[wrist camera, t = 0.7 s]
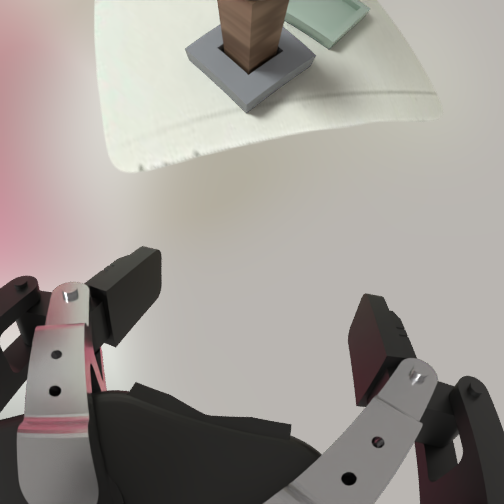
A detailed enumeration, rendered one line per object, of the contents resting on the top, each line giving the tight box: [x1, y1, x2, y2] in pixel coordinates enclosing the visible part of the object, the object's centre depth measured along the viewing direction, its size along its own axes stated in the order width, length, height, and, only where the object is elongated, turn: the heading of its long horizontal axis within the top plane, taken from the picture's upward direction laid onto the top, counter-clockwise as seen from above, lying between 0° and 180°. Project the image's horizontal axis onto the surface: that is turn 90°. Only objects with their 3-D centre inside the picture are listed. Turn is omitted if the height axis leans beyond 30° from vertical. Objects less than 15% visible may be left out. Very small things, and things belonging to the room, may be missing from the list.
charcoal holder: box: [185, 24, 316, 113], centre depth 25 cm, size 10×10×3 cm
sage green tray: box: [284, 0, 370, 49], centre depth 24 cm, size 10×10×2 cm
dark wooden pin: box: [217, 0, 289, 75], centre depth 19 cm, size 5×5×15 cm
